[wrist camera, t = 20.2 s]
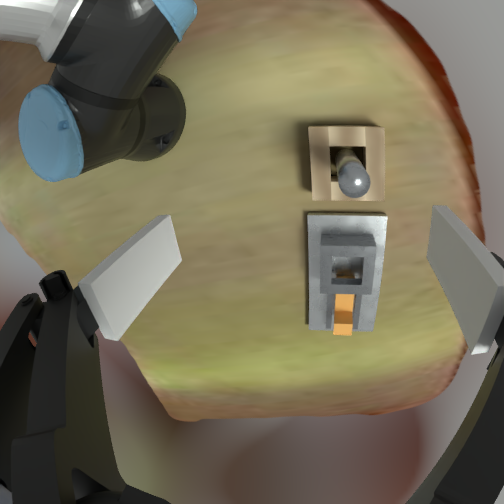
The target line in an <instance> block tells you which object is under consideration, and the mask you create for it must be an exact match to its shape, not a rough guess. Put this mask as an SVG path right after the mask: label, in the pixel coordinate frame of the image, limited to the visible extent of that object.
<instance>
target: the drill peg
mask: <svg viewBox="0 0 504 504" xmlns="http://www.w3.org/2000/svg"><path fill="white" fill-rule="evenodd" d="M335 161H336V168H337V176H338V183H339V188H340V190H341V191H342V193H343V194H345V195H346V196H348V197H350V198H359V197H362V196H364V195H365V194H366V193H367V192H368V190H369V188H370V183H371V182H370V177H369V175H368V173H367V171H366V170H365V168H364V167H363V165H362V163H361V162H360V160H359V159H358V157H357V156H356V154H355V153H354V152H353V151H352V150H349V149H342V150H340V151H339V152H338V153H337V155H336V158H335Z"/></svg>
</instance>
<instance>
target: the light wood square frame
mask: <svg viewBox="0 0 504 504" xmlns="http://www.w3.org/2000/svg"><path fill="white" fill-rule="evenodd" d="M308 133H309V146H310V161H311V179H312V200H351V201H384V197H385V132H384V127H380V126H309V127H308ZM329 146H363V167H364V168H365V170H366V171H367V173H368V175H369V177H370V182H371V183H370V188H369V190H368V192H367V193H366V194H365V195H364V196H362V197H359V198H350V197H348V196H346V195H345V194H343V193H342V191H341V190H340V188H339V183H338V176H331V168H330V147H329Z"/></svg>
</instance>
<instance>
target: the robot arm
mask: <svg viewBox="0 0 504 504" xmlns="http://www.w3.org/2000/svg"><path fill="white" fill-rule="evenodd" d="M196 15H197V6H196V4H195V2H194V1H193V0H0V40H6V41H14V42H21V43H28V44H34V45H36V46H37V47H38V49H39V51H40V54H41V56H42V58H43V60H44V61H46V62H50V63H55V64H56V67H55V69H54V71H53V74H52V76H51V78H50V81H49V83H48V84H42V85H39V86H38V87H36V88H34V89H33V90H32V91H31V92H29V93H28V94H27V95H26V97H25V99H24V101H23V103H22V106H21V109H20V114H19V124H18V127H19V139H20V143H21V147H22V151H23V154H24V156H25V159H26V161H27V163H28V164H29V166H30V167H31V169H32V170H33V171H34V172H35V174H37V175H38V176H39V177H40V178H42V179H44V180H46V181H50V182H57V181H61V180H64V179H67V178H74V177H77V176H78V175H79V174H82V173H84V172H87V171H89V170H92V169H94V168H97V167H99V166H102V165H105V164H107V163H110V162H113V161H115V160H118V159H127V160H132V161H148V160H152V159H155V158H158V157H160V156H162V155H164V154H166V153H167V152H168V151H170V150H171V149H172V148H173V147H174V146H175V144H176V143H177V141H178V140H179V138H180V136H181V134H182V131H183V128H184V125H185V118H186V109H185V103H184V99H183V96H182V94H181V92H180V90H179V89H178V87H177V86H176V85H175V84H174V83H173V82H172V81H171V80H170V79H168V78H167V77H165V76H163V75H160V74H156V73H157V71H158V70H159V68H160V67H161V65H162V64H163V62H164V61H165V60H166V58H167V57H168V55H169V54H170V53H171V51H172V50H173V48H174V47H175V46H176V44H177V43H178V42H180V41H181V40H182V36H183V34H184V33H185V31H186V30H187V29H188V27H189V26H190V24H191V23H192V22H193V20H194V19H195V17H196ZM427 259H428V261H429V263H430V265H431V267H432V269H433V270H434V272H435V274H436V276H437V278H438V280H439V282H440V284H441V286H442V288H443V290H444V292H445V294H446V296H447V298H448V301H449V303H450V305H451V307H452V309H453V311H454V314H455V316H456V318H457V320H458V323H459V325H460V327H461V330H462V332H463V335H464V337H465V340H466V342H467V345H468V347H469V350H470V353H471V354H478V353H484V352H488V351H489V349H490V347H491V345H492V343H493V341H494V339H495V340H496V343H497V345H498V348H497V350H496V352H495V354H494V356H493V358H492V360H491V362H490V364H489V365H488V367H487V370H488V372H487V374H486V376H485V379H484V381H483V383H482V385H481V387H480V390H479V392H478V394H477V396H476V398H475V400H474V402H473V404H472V406H471V408H470V410H469V412H468V413H467V415H466V417H465V419H464V421H463V423H462V424H461V426H460V428H459V430H458V431H457V433H456V435H455V436H454V438H453V440H452V441H451V443H450V444H449V446H448V448H447V449H446V451H445V453H444V454H443V455H442V457H441V458H440V460H439V461H438V463H437V464H436V466H435V467H434V468H433V469H432V471H431V472H430V474H429V475H428V476H427V478H426V479H425V480H424V482H423V483H422V484H421V485H420V487H419V488H418V489H417V490H416V492H415V493H414V494H413V495H412V497H411V498H410V499H409V500H408V501H407V503H406V504H494V502H495V501H496V499H497V497H498V495H499V493H500V491H501V490H502V488H503V486H504V261H503V260H502V259H501V258H500V257H499V256H497V255H496V254H494V253H493V252H489V250H488V249H487V248H486V247H485V246H484V245H483V244H482V242H481V241H480V240H479V239H478V238H477V237H476V236H475V235H474V234H473V232H472V231H471V230H470V229H469V228H468V227H467V226H466V225H465V224H464V223H463V222H462V221H461V220H460V219H459V218H458V217H457V216H456V215H455V214H454V213H453V212H452V211H451V210H450V209H449V208H448V207H447V206H438V205H433V207H432V218H431V228H430V236H429V244H428V251H427ZM181 261H182V259H181V255H180V251H179V248H178V244H177V240H176V236H175V232H174V228H173V224H172V220H171V216H170V215H160V216H157V217H156V218H155V219H153V220H152V221H151V222H149V223H148V224H147V225H146V226H144V227H143V228H142V229H141V230H139V231H138V232H137V233H136V234H134V235H133V236H132V237H131V238H129V239H128V240H127V241H126V242H125V243H123V244H122V245H121V246H120V247H119V248H117V249H116V250H115V251H114V252H113V253H111V254H110V255H109V256H108V257H107V258H106V259H104V260H103V261H102V262H101V263H100V264H99V265H98V266H96V267H95V268H94V269H93V270H92V271H91V272H90V273H89V274H87V275H86V276H85V277H84V278H83V279H82V280H81V281H80V282H79V283H78V286H77V287H76V288H75V289H74V290H73V288H72V286H71V284H70V282H69V279H68V277H67V275H66V272H65V271H64V270H58V271H54V272H52V273H50V274H48V275H47V276H45V277H44V278H43V279H42V280H41V281H40V283H39V285H40V287H41V289H42V291H43V293H44V295H45V297H46V299H47V302H42V301H41V300H40V297H39V295H38V294H37V293H32V294H27V295H26V296H24V297H23V298H22V299H21V300H20V301H19V302H18V304H17V305H16V307H15V308H14V310H13V311H12V313H11V314H10V316H9V317H8V319H7V321H6V322H5V324H4V325H3V327H2V329H1V331H0V504H171V503H169V502H168V501H166V500H164V499H162V498H159V497H156V496H154V495H151V494H149V493H146V492H144V491H141V490H139V489H136V488H134V487H132V486H129V485H127V484H126V483H125V482H124V480H123V479H122V477H121V475H120V473H119V471H118V468H117V464H116V460H115V456H114V451H113V447H112V442H111V437H110V432H109V427H108V421H107V415H106V409H105V402H104V395H103V387H102V380H101V370H100V359H99V347H98V346H99V345H98V338H97V336H96V334H95V331H96V330H97V329H98V328H100V330H101V332H102V334H103V336H104V338H106V339H111V340H116V341H118V340H119V339H120V338H121V336H122V335H123V334H124V332H125V331H126V330H127V328H128V327H129V326H130V325H131V323H132V322H133V321H134V319H135V318H136V317H137V316H138V314H139V313H140V312H141V310H142V309H143V308H144V307H145V305H146V304H147V303H148V302H149V300H150V299H151V298H152V297H153V295H154V294H155V293H156V292H157V290H158V289H159V288H160V287H161V285H162V284H163V283H164V282H165V280H166V279H167V278H168V277H169V276H170V274H171V273H172V272H173V271H174V269H175V268H176V267H177V266H178V265H179V263H180V262H181ZM29 332H30V333H31V335H32V336H33V338H34V339H35V341H36V343H37V344H36V347H34V346H33V345H32V343H31V342H30V340H29V338H28V335H29Z"/></svg>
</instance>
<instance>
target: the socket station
mask: <svg viewBox="0 0 504 504" xmlns="http://www.w3.org/2000/svg"><path fill="white" fill-rule="evenodd" d="M307 218H308V249H309V330H332V331H334V312H335V296H336V294H354V301H353V311H352V314H353V327H352V331H373V327H374V322H375V316H376V310H377V304H378V298H379V291H380V284H381V276H382V268H383V260H384V250H385V239H386V227H387V215H386V214H379V213H308V215H307ZM336 276H355V278H336Z"/></svg>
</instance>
